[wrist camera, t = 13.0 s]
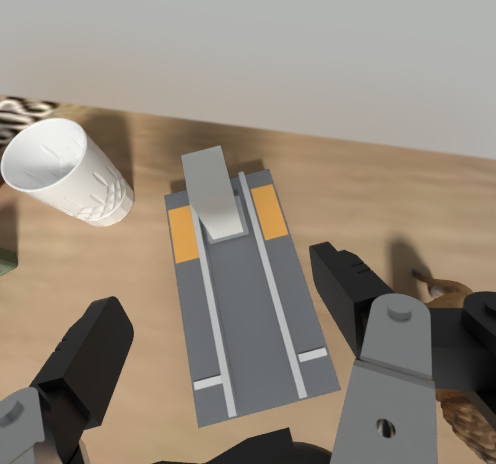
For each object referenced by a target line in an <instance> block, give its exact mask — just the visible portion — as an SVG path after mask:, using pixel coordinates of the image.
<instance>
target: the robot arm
mask: <svg viewBox="0 0 496 464" xmlns="http://www.w3.org/2000/svg"><path fill="white" fill-rule="evenodd" d="M309 252H310V259H311V266H312V273H313V279H314V283H315V286H316V289H317V291H318V293H319V295H320V297H321V298H322V300H323V302H324V303H325V305H326V307H327V309H328V310H329V312H330V314H331V315H332V317H333V319H334V320H335V322H336V324H337V326H338V327H339V329H340V331H341V332H342V334H343V336H344V338H345V339H346V341H347V343H348V344H349V346H350V348H351V350H352V351H353V353H354V355H355V356H356V359H355V361H354V364H353V368H352V372H351V376H350V380H349V384H348V389H347V393H346V397H345V401H344V406H343V410H342V414H341V418H340V422H339V427H338V431H337V435H336V439H335V443H334V448H333V452H330V451H328V450H326V449H324V448H321V447H319V446H316V445H313V444H308V443H304V442H293V440H292V437H291V433H290V429H289V427H288V428H285V429H281V430H277V431H273V432H270V433H266V434H262V435H258V436H254V437H251V438H247V439H246V440H244V441H242V442H241V443H239V444H237V445H236V446H234V447H232V448H230V449H229V450H227V451H225V452H224V453H222V454H220V455H219V456H217V457H215V458H214V459H212V460H210V461H208V462H206V463H203V464H438V454H437V425H436V397H435V388H437V389H451V390H462V392H463V393H464V394H465V395H466V396H467V398H468V399H469V400H470V401H471V403H472V404H473V405H474V406H475V407H476V409H477V410H478V411H479V412H480V413H481V415H482V416H483V417H484V418H485V419H486V421H487V422H488V423H489V424H490V425H491V427H492V428H493V429H494V430H495V432H496V292H487V291H484V292H475V293H472V294H469V295H468V296H466V297H465V299H464V301H463V307H462V308H428V307H426V306H425V305H424V304H423V303H422V302H421V301H419V300H417V299H416V298H413V297H411V296H408V295H404V294H396V293H395V292H394V291H393V290H392V289H391V288H390V287H389V286H388V285H387V284H386V283H384V282H383V281H382V280H381V279H380V278H379V277H378V276H377V275H376V274H375V273H374V272H373V271H372V270H370V268H369V267H368V266H367V265H366V264H364V262H363V261H362V260H361V259H360V258H359V257H358V256H357V255H355V254H353V253H351V252H348V251H346V250H342V251H337V250H336V249H335V248H334V247H333V246H332V245H331V244H330V243H329V242H323V243H320V244H316V245H312V246H310V247H309ZM133 337H134V330H133V326H132V324H131V322H130V320H129V318H128V316H127V315H126V313H125V311H124V309H123V307H122V306H121V304H120V302H119V300H118V299H117V298H116V297H114V296H112V297H108V298H104V299H100V300H96V301H93V302H92V303H91V304H90V306H89V307H88V309H87V310H86V312H85V313H84V315H83V316H82V317H81V318H80V319H79V320H78V321H77V322H76V323H75V324H74V325H73V326H72V327H70V329H69V330H68V331H67V333H66V334H65V336H64V337H63V339H62V342H60V343H59V344H58V346H57V347H56V349H55V352H53V353H52V354H51V356H50V357H49V359H48V360H47V361H46V363H45V364H44V366H43V367H42V369H41V370H40V371H39V373H38V374H37V376H36V377H35V379H34V380H33V381H32V383H31V384H30V386H29V387H28V388H24V389H21V390H18V391H16V392H14V393H12V394H11V395H9V396H8V397H6V398H5V399H3V400H2V401H1V402H0V464H90V460H89V457H88V453H87V450H86V447H85V444H84V442H83V441H82V440H81V439H80V438H81V436H82V433H83V431H84V430H86V429H90V428H94V427H98V426H101V424H102V421H103V418H104V416H105V413H106V410H107V408H108V405H109V403H110V400H111V397H112V395H113V392H114V389H115V387H116V384H117V381H118V379H119V376H120V373H121V371H122V368H123V365H124V363H125V360H126V357H127V355H128V352H129V349H130V347H131V344H132V341H133ZM152 464H197V463H183V462H169V461H160V462H156V463H152Z"/></svg>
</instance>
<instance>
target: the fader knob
mask: <svg viewBox="0 0 496 464" xmlns="http://www.w3.org/2000/svg"><path fill="white" fill-rule="evenodd" d="M181 159H182V164H183V169H184V175H185V180H186V186H187V191H188V197H189V202H190V204H191V206H192V207H193V209H194V210H195V212H196V213H197V215H198V216H199V218H200V220H201V221H202V223H203V224H204V226H205V227H206V231H207V236H208V241H209V242H210V244H213V243H217V242H221V241H224V240H228V239H232V238H236V237H240V236H244V235H248V234H249V231H248V227H247V223H246V220H245V216H244V212H243V208H242V205H241V201H240V197H239V195H238V196H235V197H234V193H233V190H232V186H231V182H230V179H229V175H228V171H227V167H226V164H225V160H224V156H223V152H222V149H221V145H220V146H216V147H212V148H208V149H204V150H200V151H196V152H192V153H188V154H184V155H181Z"/></svg>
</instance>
